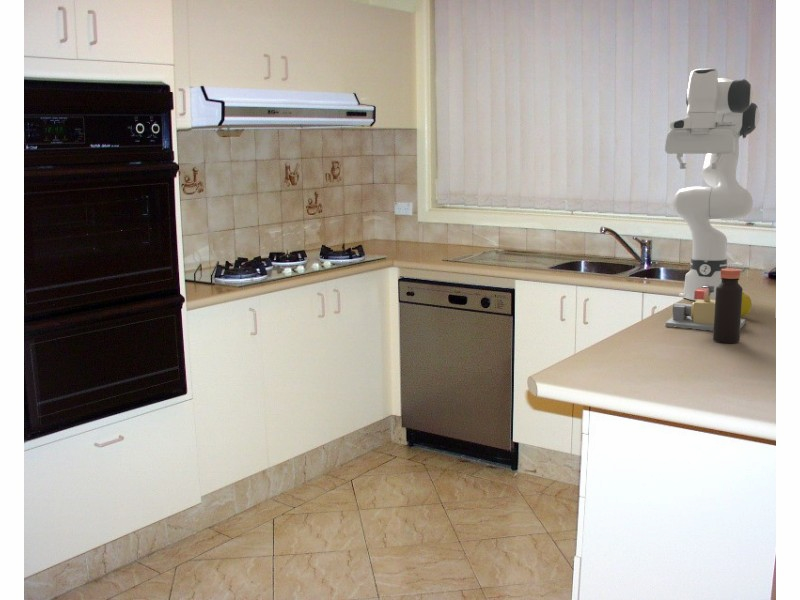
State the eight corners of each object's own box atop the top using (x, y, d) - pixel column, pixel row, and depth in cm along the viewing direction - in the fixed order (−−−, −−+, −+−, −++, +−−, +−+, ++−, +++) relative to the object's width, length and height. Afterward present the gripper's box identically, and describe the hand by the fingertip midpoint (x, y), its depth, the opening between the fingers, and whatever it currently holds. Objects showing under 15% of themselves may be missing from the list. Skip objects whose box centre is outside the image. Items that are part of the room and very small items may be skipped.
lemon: (753, 319, 259) (755, 294, 258) (735, 319, 259) (737, 294, 258) (746, 315, 265) (747, 290, 263) (728, 316, 265) (730, 291, 263)
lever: (692, 298, 241) (692, 290, 240) (702, 291, 253) (702, 283, 252) (705, 300, 239) (705, 291, 238) (714, 292, 251) (715, 284, 251)
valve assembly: (665, 326, 250) (667, 294, 249) (677, 316, 264) (679, 285, 262) (736, 333, 240) (738, 299, 239) (745, 323, 254) (747, 291, 252)
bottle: (716, 343, 229) (720, 271, 225) (710, 337, 235) (714, 267, 232) (742, 344, 228) (746, 271, 224) (735, 338, 234) (740, 267, 231)
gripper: (739, 122, 251) (736, 168, 254) (669, 123, 262) (667, 168, 264) (735, 121, 246) (732, 169, 249) (664, 123, 256) (662, 168, 259)
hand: (698, 168), depth 256 cm, fingers open, 8 cm apart
